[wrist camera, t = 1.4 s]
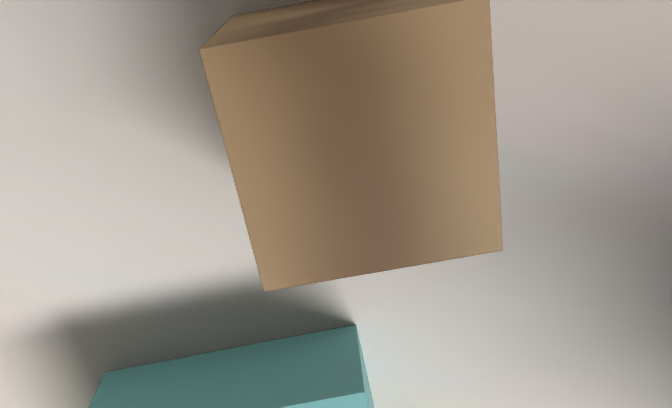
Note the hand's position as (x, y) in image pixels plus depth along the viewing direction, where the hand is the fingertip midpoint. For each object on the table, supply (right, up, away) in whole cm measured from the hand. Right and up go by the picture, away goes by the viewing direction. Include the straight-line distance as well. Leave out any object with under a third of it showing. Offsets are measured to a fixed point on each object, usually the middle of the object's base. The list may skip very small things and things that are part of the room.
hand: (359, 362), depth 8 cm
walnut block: (0, +6, +11) cm, 12 cm away
